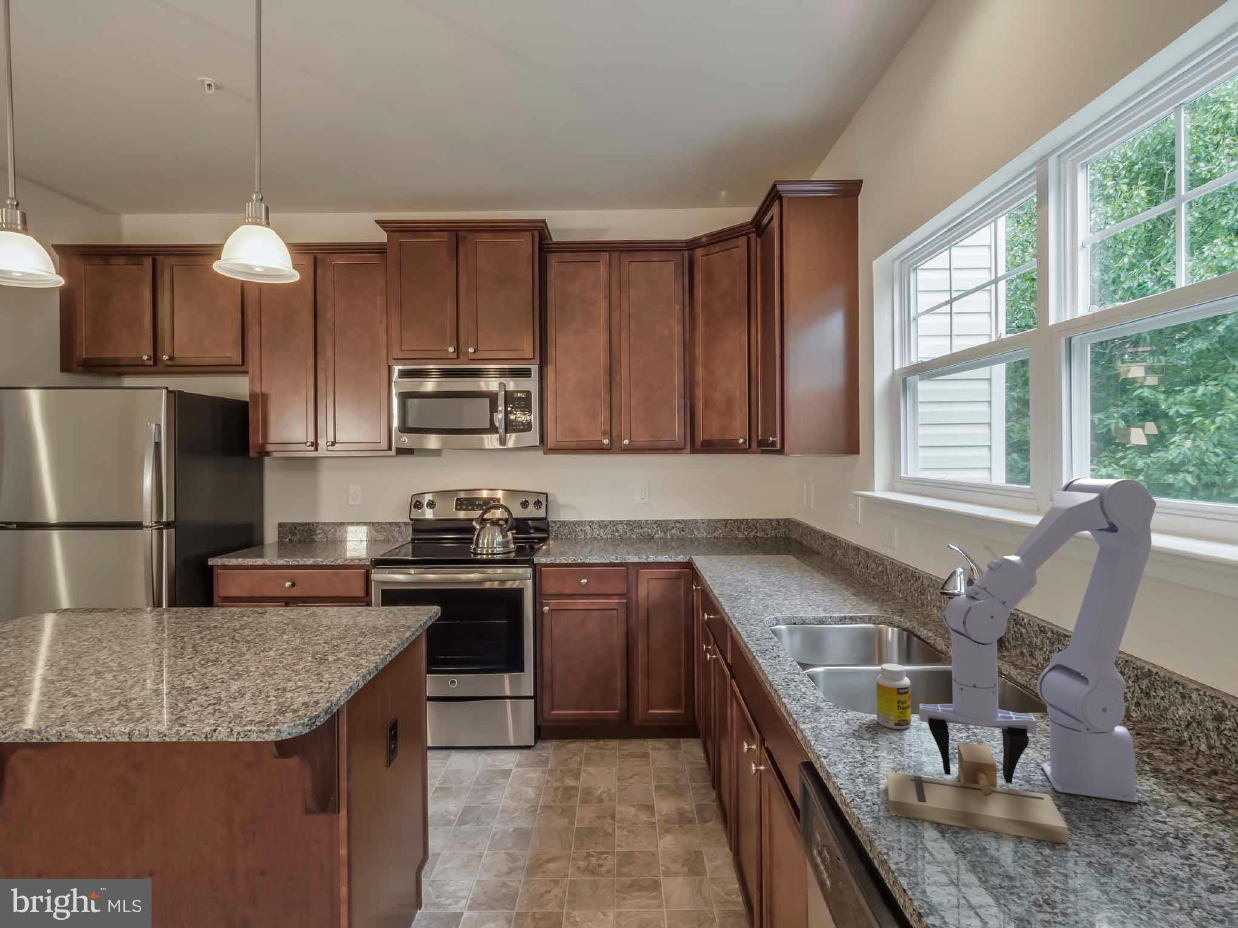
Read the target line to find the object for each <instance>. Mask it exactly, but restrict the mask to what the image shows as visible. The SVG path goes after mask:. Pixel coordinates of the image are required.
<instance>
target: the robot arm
mask: <svg viewBox="0 0 1238 928" xmlns="http://www.w3.org/2000/svg"><path fill="white" fill-rule="evenodd" d="M1156 507H1157V502H1156V500H1155V499H1154V498H1153V496H1152V495H1151V494H1150V493H1149V491H1148V489H1147V488H1146V487H1145V486H1144V484H1142V483H1141V482H1140V481H1137V480H1134V479H1129V478H1123V479H1109V478H1108V479H1105V478H1104V479H1102V478H1088V477H1084V476H1083V477H1082V476H1081V477H1075V478H1072V479H1070V480H1068V481H1067V482H1066V483H1065V484H1064V485H1063V486H1062V488H1061V490H1059V491H1058V492H1057V493H1056V494H1054V496H1053V497H1052V500H1051V506H1050V508H1049V510H1048V511H1046V513H1045V514H1044V516H1042V518H1041V519H1040V520H1039V522H1038V523H1037V524H1036V526H1035V527H1034V528H1033V529H1032V531H1031V532H1030V533H1029V534H1028V536H1027V537H1026V538H1025V539H1024V541H1023V542H1022V543H1021V544H1020V546H1019V547H1018V548H1017V549H1016V550H1015V552H1014V553H1013V554H1012V555H1007V556H1006V555H1005V556H999V557H997V558H996V559H995V560H994V559H991V560H990V561H989V562H988V563H987V564H986V567H987V569H986V571H985V572H984V573H982V575H981V576H980V577H979V578H978V579H977V580H976V582H974V584H972V585H971V586H968V587H967V588H966V589H965V590H964V592H965V594H960V595H959V596H958V595H957V596H955V597H953V598H952V599H951V600H950V601H949V602H948V603H947V605H946V609H945V611H944V612H942V613H941V617H942V620H943V622H944V625H945V626H946V627H947V628H948V629H949V632H950V640H951V673H952V674H951V676H952V679H951V681H952V703H941V704H940V703H938V704H935V703H934V704H933V703H932V704H931V703H930V704H928V703H927V704H926V703H919V704H918V708H919V709H918V712H919V713H918V714H919V721H920V722H923V723H927V724H928V728H929V731H930V733H931V735H932V737H933V740H934V741H935V743H936V745H937V748H938V751H939V753H940V757H941V761H942V769H943V772H944V775H947V776H951V761H950V731H949V725H948V724H956V725H965V726H975V727H977V726H978V727H982V728H983V727H984V728H993V729H1001V733H1002V734H1001V735H1002V736H1001V737H1002V749H1003V752H1002V753H1003V754H1002V755H1003V757H1002V775H1003V776H1002V777H1003V779H1004V781H1005V783H1007V784H1012V783H1013V778H1014V773H1015V771H1016V768H1017V764H1018V762H1019V761H1020V758H1021V757H1022V755H1023V753H1024V752H1025V750H1026V749H1027V748H1028V746H1029V742H1030V737H1029V736H1028V734H1030V735H1037V720H1036V718H1035V717H1034V715H1032V714H1024V713H1018V712H1013V711H1010V710H1009V711H1008V710H1004V709H999V684H998V683H999V681H998V680H999V679H998V678H999V677H998V675H999V674H998V640H999V639H1000V638H1001V637H1003V636H1005V634H1006V631H1007V627H1008V620H1009V617H1010V616H1011V612H1013V610H1014V609H1015V608H1016V607H1017V606H1018V605H1019V603H1021V601H1022V600H1023V599H1024V598H1026V596H1027V595H1028V594H1029V593H1030V592H1031V591H1032V590H1033V589H1034V587H1035V586H1036V585H1037V583H1038V580H1037V575H1036V574H1037V572H1036V571H1037V570H1039V569H1040V568H1041V566H1043V564H1045V563H1046V562H1047V561H1048V560H1049V559H1050V558H1052V557H1053V555H1054V554H1055V553H1057V552H1058V550H1060V549H1061V548H1062V547H1063V546H1064V545H1065V544H1066V543H1067V542H1068V541H1070V539H1072V538H1073V536H1075V535H1076V534H1078V533H1081V532H1088V533H1090V535H1091V536H1092V537H1093V539H1094V541H1096V543H1097V544H1098V546H1099V549H1098V553H1097V556H1096V559H1095V562H1094V565H1093V568H1092V571H1091V575H1090V578H1089V581H1088V583H1087V587H1086V590H1085V593H1084V596H1083V600H1082V603H1081V606H1080V609H1079V612H1078V615H1077V619H1076V621H1075V624H1074V627H1073V630H1072V633H1071V637H1070V640H1069V643H1068V646H1067V647H1066V648H1065V649H1063V650H1060V651H1059V652H1057V653H1055V654H1053V655H1052V656H1051V660H1050V662H1049V664H1048V666H1047V667H1046V668H1045V669H1044V670H1043V671H1042V672H1041V673H1040V674H1039V676H1038V679H1037V683H1036V689H1037V693H1038V696H1039V697H1040V699H1041V700H1042V701H1043V702H1044V703H1045V704H1046V712H1047V713H1048V714H1049V715H1048V717H1049V718H1048V719H1049V756H1050V757H1049V762H1050V763H1045V762H1044V763H1041V768H1042V769H1043V771H1044V772H1045V775H1046V776H1047V778H1048V780H1049V781H1050V783H1051V785H1052V787H1053V788H1054V790H1055V791H1056V792H1059V793H1064V794H1071V795H1079V796H1085V797H1086V796H1087V797H1093V798H1094V797H1095V798H1101V799H1107V800H1108V799H1109V800H1116V801H1123V802H1131V803H1138V802H1139V798H1138V797H1137V796H1136V794H1137V793H1136V790H1137V788H1136V787H1137V786H1136V754H1135V753H1136V752H1135V747H1134V742H1133V738H1132V736H1131V733H1130V731H1129V730H1128V728H1126V727H1125V726H1122V725H1120V724H1121V722H1122V721H1123V719H1124V717H1125V713H1126V705H1125V698H1124V697H1125V691H1126V688H1127V684H1126V681H1125V680H1124V678H1123V676H1122V674H1121V673H1120V671H1119V670H1118V668H1117V667H1116V665H1115V662H1116V659H1117V655H1118V653H1119V650H1120V648H1121V647H1120V646H1121V643H1122V640H1123V637H1124V634H1125V632H1126V628H1127V624H1128V621H1129V618H1130V615H1131V613H1132V612H1131V611H1132V609H1133V606H1134V602H1135V600H1136V596H1137V593H1138V590H1139V586H1140V584H1141V580H1142V578H1143V574H1144V570H1145V569H1146V565H1147V562H1148V559H1149V555H1150V552H1151V549H1152V548H1151V547H1152V544H1153V543H1152V532H1151V523H1152V520H1153V519H1152V518H1153V517H1154V516H1153V515H1154V513H1155V510H1156Z"/></svg>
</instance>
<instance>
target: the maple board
mask: <svg viewBox="0 0 1238 928" xmlns="http://www.w3.org/2000/svg"><path fill="white" fill-rule="evenodd" d="M886 782H887V783H886V784H887V785H886V786H887V787H886V788H887V797H888V809H889V810H890V811H889V815H890V814H895V815H900V816H903V817H902V818H906V817H909V818H908V819H912V818H914V819H913V820H918V819H919V821H926V822H932V823H937V824H944V825H951V826H955V827H956V826H957V827H963V828H967V829H968V828H969V829H976V830H979V831H980V830H982V831H986V832H987V831H988V832H994V833H998V834H1005V835H1006V834H1007V835H1012V836H1016V837H1017V836H1019V837H1023V838H1024V837H1025V838H1030V839H1037V840H1043V841H1048V842H1055V843H1061V844H1067V845H1068V843H1069V842H1068V841H1069V840H1068V839H1069V838H1068V837H1069V836H1068V834H1069V833H1068V826H1067V824H1066V822H1065V820H1064V819H1063V817H1062V815H1061V813H1060V812H1059V810H1058V808H1057V806H1056V804H1055V803H1054V801H1053V799H1052V798H1051V795H1050V794H1048V793H1041V792H1034V791H1028V790H1020V789H1013V788H1006V787H1001V786H1000V787H998V786H997V787H992V786H990V787H991V790H992V794H991V795H990V796H984V794H983V793H982V790H981V788H980V785H978V784H971V783H964V782H960V781H957V780H955V781H954V780H950V779H949V780H948V779H940V778H934V777H926V776H922V775H921V776H920V775H912V774H906V773H899V772H892V771H887V772H886ZM900 816H899V817H900Z"/></svg>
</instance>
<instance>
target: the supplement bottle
mask: <svg viewBox="0 0 1238 928" xmlns="http://www.w3.org/2000/svg"><path fill="white" fill-rule="evenodd" d="M880 665H881V666H880V674H879V675H877V677H876V680H875V681H876V720H877V721H878V723H879V724H880V725H881V726H883V727H885V728H888V729H891V730H892V729H894V730H905V729H908V728H909V727H910V726H911V724H912V717H911V716H912V712H911V711H912V708H911V707H912V705H911V704H912V702H911V696H912V695H911V681H910V679H909V678H908V677H907V676H906V675H907V674H906V673H907V672H906V667H905V666H903V665H900V664H897V663H883V664H880Z"/></svg>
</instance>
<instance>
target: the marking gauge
mask: <svg viewBox="0 0 1238 928" xmlns="http://www.w3.org/2000/svg"><path fill="white" fill-rule="evenodd" d="M997 773H998V772H997V763H996V761H995V758H994V757H993V753H992V752H991V749H990V747H989V745H984V744H977V743H976V744H975V743H968V742H967V743H966V742H957V775H958V779H959V782H964V783H971V784H978V785H980V788H981V790H982V793H983V794H984V796H990V795H991V794H992V790H991V787H990V786H992V787H998V786H997V785H998V783H997V781H998V779H997V777H998V776H997Z"/></svg>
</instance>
